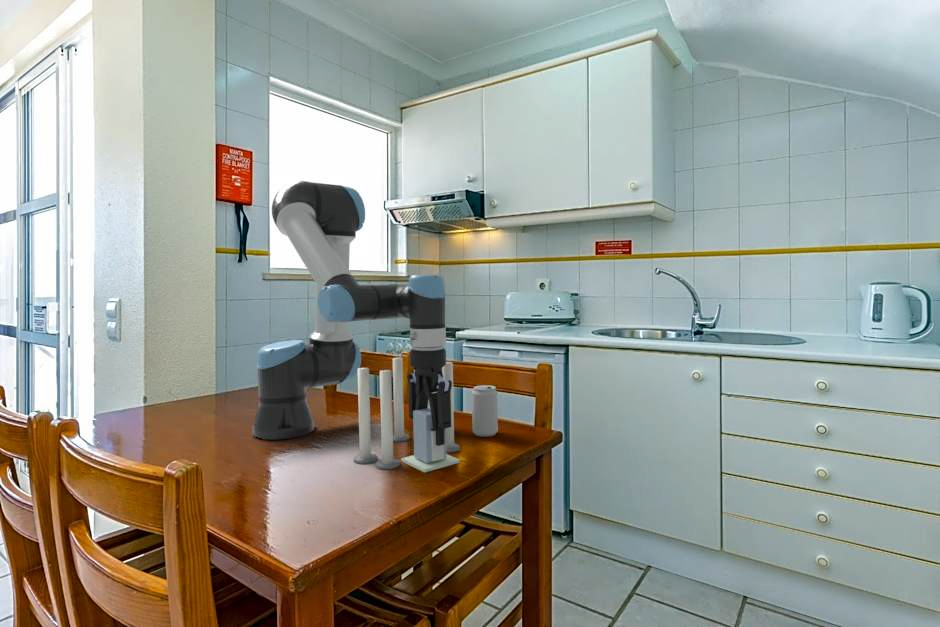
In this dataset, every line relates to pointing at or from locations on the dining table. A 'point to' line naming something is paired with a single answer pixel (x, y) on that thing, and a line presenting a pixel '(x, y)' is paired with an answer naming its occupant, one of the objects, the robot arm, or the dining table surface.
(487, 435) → the beverage can
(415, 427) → the block
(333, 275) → the robot arm
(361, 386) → the gate posts
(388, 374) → the gate posts
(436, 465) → the pad
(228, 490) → the dining table surface
